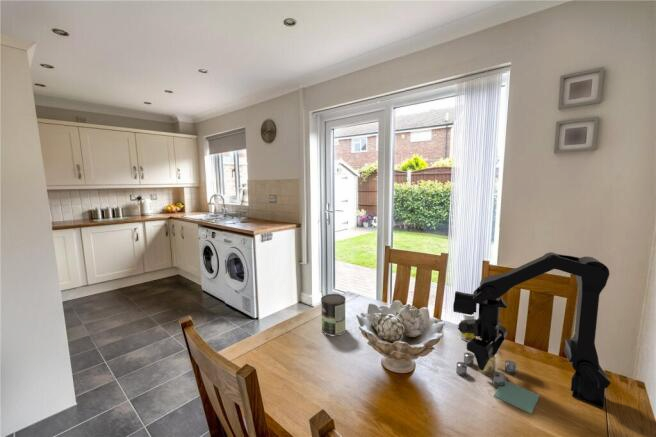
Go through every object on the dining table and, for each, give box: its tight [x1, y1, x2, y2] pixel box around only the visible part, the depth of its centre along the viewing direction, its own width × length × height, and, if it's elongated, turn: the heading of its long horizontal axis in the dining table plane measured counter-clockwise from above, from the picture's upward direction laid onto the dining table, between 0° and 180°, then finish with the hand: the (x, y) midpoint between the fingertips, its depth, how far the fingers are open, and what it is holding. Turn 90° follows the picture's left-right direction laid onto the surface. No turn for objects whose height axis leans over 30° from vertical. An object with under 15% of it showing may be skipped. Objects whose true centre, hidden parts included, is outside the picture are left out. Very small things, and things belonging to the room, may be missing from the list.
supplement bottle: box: [459, 313, 477, 343], centre depth 111 cm, size 6×6×10 cm
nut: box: [477, 355, 497, 377], centre depth 92 cm, size 5×5×5 cm
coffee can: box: [320, 293, 346, 336], centre depth 120 cm, size 10×10×14 cm
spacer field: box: [455, 352, 517, 388], centre depth 92 cm, size 14×16×3 cm
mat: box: [493, 380, 541, 415], centre depth 81 cm, size 9×9×1 cm
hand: (486, 363), depth 92 cm, fingers open, 9 cm apart
